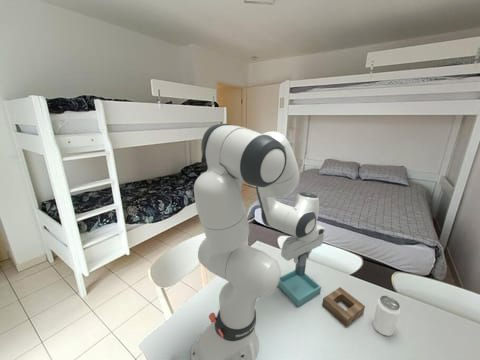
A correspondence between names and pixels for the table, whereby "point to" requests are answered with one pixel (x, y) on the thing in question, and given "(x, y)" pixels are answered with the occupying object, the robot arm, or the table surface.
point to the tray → (298, 288)
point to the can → (386, 315)
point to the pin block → (338, 312)
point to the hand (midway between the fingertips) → (301, 260)
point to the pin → (301, 265)
